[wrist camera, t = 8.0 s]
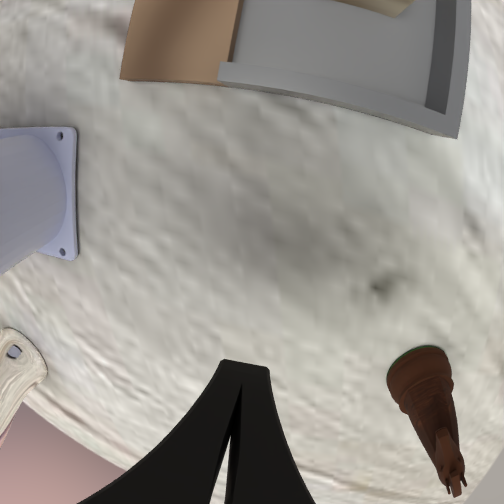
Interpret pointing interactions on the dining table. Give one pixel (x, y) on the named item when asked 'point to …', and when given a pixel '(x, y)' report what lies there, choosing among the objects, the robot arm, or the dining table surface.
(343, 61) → the box
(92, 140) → the dining table surface
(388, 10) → the birch block
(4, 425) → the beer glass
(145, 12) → the walnut board
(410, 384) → the chess piece
